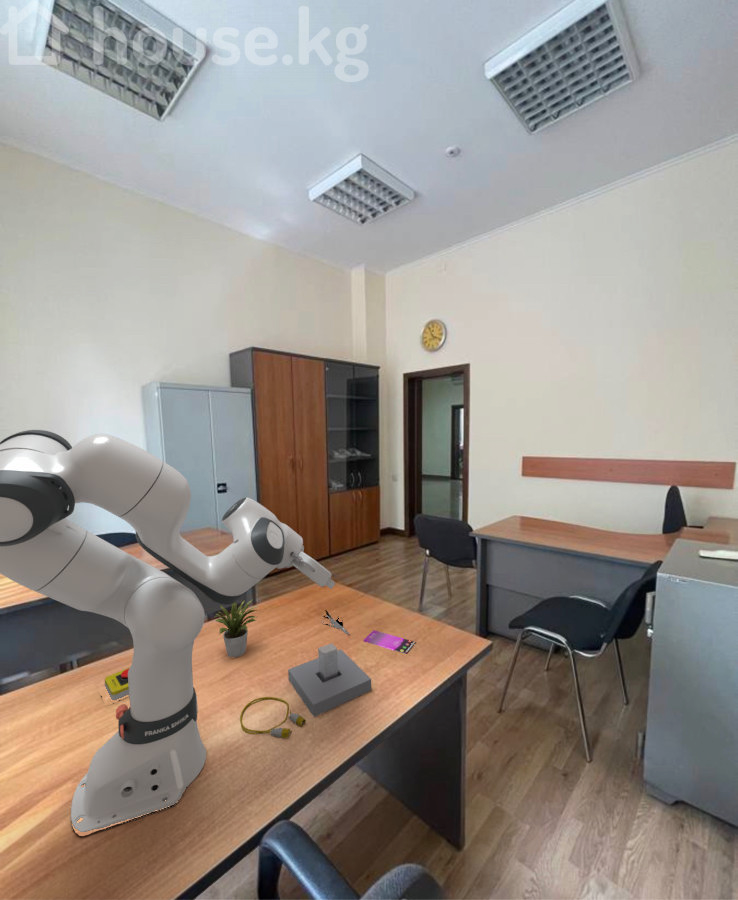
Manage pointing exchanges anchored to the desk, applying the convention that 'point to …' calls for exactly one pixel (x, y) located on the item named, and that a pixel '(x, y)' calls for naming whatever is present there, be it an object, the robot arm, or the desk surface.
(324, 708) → the block
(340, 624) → the toy airplane
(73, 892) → the desk surface
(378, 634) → the smartphone
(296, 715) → the extension cord
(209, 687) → the desk surface
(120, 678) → the emergency button
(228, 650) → the house plant
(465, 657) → the desk surface
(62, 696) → the desk surface
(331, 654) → the grey square post
